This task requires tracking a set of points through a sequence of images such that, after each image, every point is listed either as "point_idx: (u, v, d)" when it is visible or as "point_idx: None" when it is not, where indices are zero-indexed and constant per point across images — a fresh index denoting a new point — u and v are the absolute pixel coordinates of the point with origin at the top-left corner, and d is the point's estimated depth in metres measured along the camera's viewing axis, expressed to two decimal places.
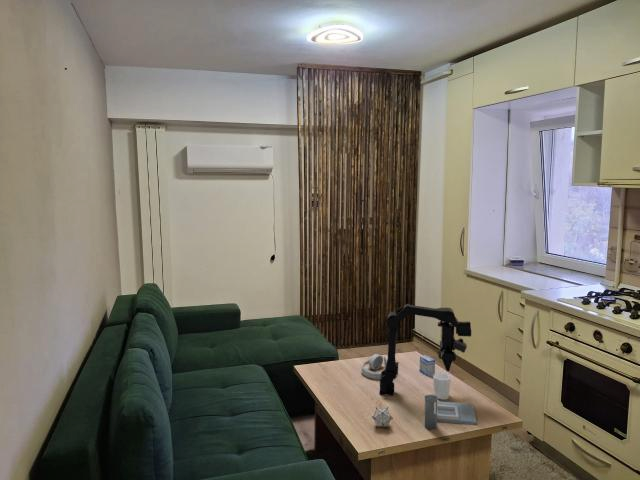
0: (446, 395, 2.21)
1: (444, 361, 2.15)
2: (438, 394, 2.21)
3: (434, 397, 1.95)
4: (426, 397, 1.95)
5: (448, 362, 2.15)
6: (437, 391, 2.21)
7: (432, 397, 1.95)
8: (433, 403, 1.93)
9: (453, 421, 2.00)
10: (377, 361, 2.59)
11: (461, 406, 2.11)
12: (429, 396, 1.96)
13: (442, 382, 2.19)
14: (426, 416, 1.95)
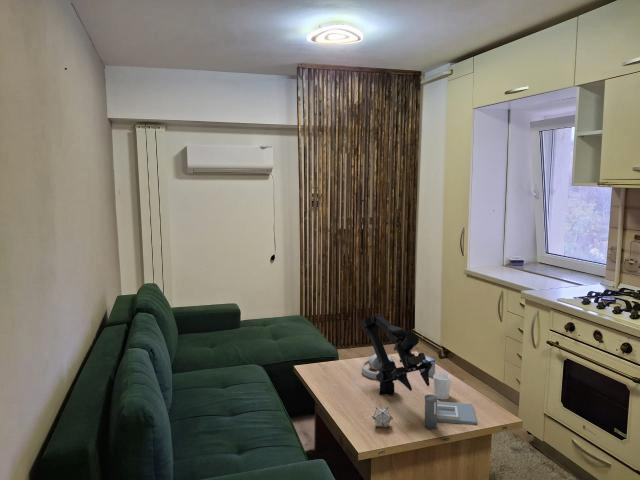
0: (446, 395, 2.21)
1: (401, 381, 2.04)
2: (438, 394, 2.21)
3: (434, 397, 1.95)
4: (426, 397, 1.95)
5: (404, 380, 2.03)
6: (437, 391, 2.21)
7: (432, 397, 1.95)
8: (433, 403, 1.93)
9: (453, 421, 2.00)
10: (377, 361, 2.59)
11: (461, 406, 2.11)
12: (429, 396, 1.96)
13: (442, 382, 2.19)
14: (426, 416, 1.95)
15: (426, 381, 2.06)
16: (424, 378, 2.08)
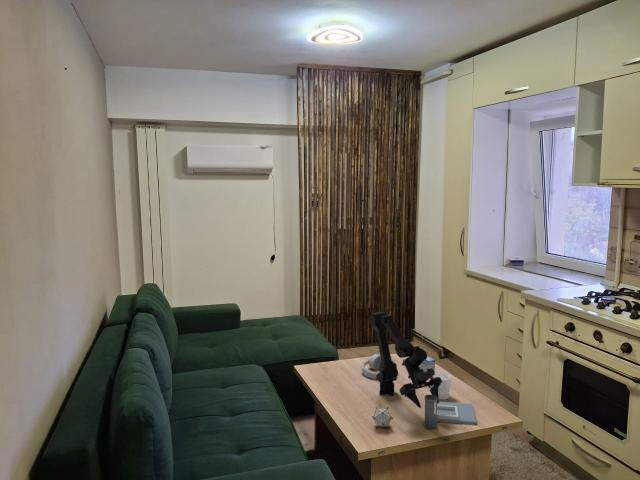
0: (446, 395, 2.21)
1: (409, 397, 1.98)
2: (438, 394, 2.21)
3: (434, 397, 1.95)
4: (426, 397, 1.95)
5: (413, 397, 1.97)
6: None
7: (432, 397, 1.95)
8: (433, 403, 1.93)
9: (453, 421, 2.00)
10: (377, 361, 2.59)
11: (461, 406, 2.11)
12: (429, 396, 1.96)
13: (442, 382, 2.19)
14: (426, 416, 1.95)
15: None
16: None
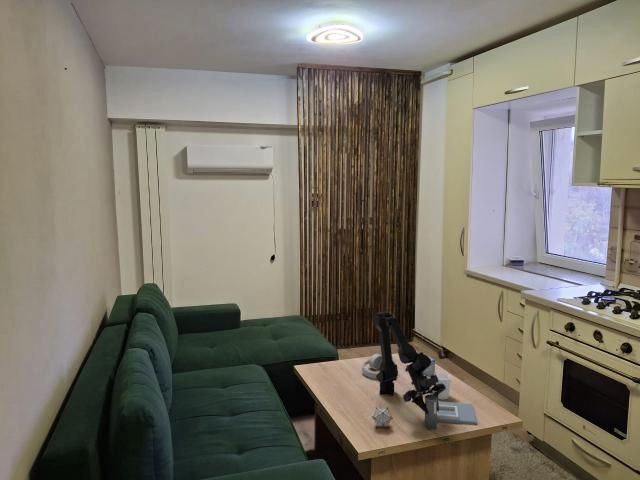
0: (446, 395, 2.21)
1: (417, 403, 1.97)
2: None
3: (434, 397, 1.95)
4: (426, 397, 1.95)
5: (420, 403, 1.96)
6: None
7: (432, 397, 1.95)
8: (433, 403, 1.93)
9: (453, 421, 2.00)
10: (377, 361, 2.59)
11: (461, 406, 2.11)
12: (429, 396, 1.96)
13: (442, 382, 2.19)
14: (426, 416, 1.95)
15: None
16: None
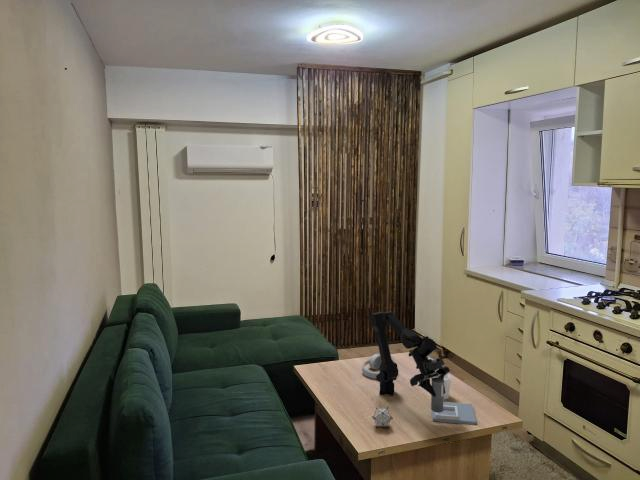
0: (446, 395, 2.21)
1: (423, 387, 1.98)
2: None
3: (441, 380, 1.97)
4: (433, 380, 1.97)
5: (427, 386, 1.97)
6: None
7: (439, 380, 1.97)
8: (440, 386, 1.95)
9: (453, 421, 2.00)
10: (377, 361, 2.59)
11: (461, 406, 2.11)
12: (435, 379, 1.98)
13: None
14: (433, 399, 1.96)
15: None
16: None
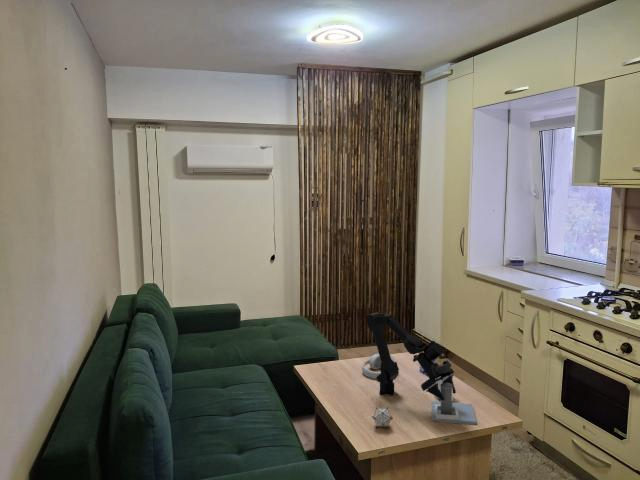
0: None
1: (431, 392, 2.02)
2: None
3: (449, 384, 2.04)
4: (443, 385, 2.03)
5: (435, 391, 2.01)
6: None
7: (448, 385, 2.04)
8: (451, 390, 2.01)
9: (453, 421, 2.00)
10: (378, 361, 2.59)
11: (461, 406, 2.11)
12: (444, 384, 2.04)
13: (442, 382, 2.19)
14: (444, 404, 2.03)
15: None
16: None
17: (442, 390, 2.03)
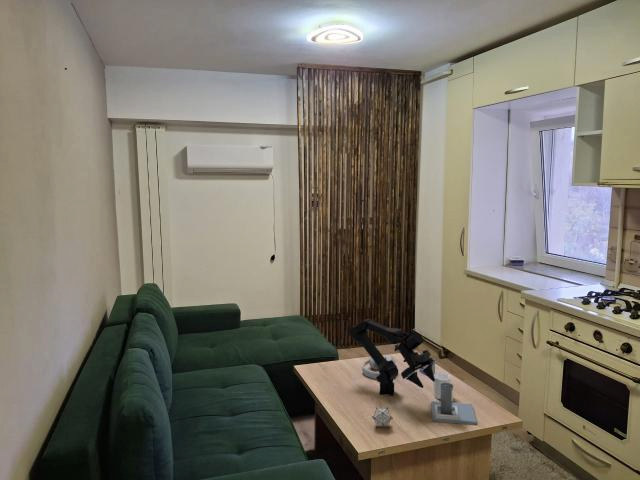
0: None
1: (411, 380, 2.09)
2: (438, 394, 2.21)
3: (449, 384, 2.04)
4: (443, 385, 2.03)
5: (415, 379, 2.08)
6: (437, 391, 2.21)
7: (448, 385, 2.04)
8: (451, 390, 2.01)
9: (453, 421, 2.00)
10: None
11: (461, 406, 2.11)
12: (444, 384, 2.04)
13: (442, 382, 2.19)
14: (444, 404, 2.02)
15: (431, 377, 2.14)
16: (428, 374, 2.15)
17: (442, 390, 2.03)
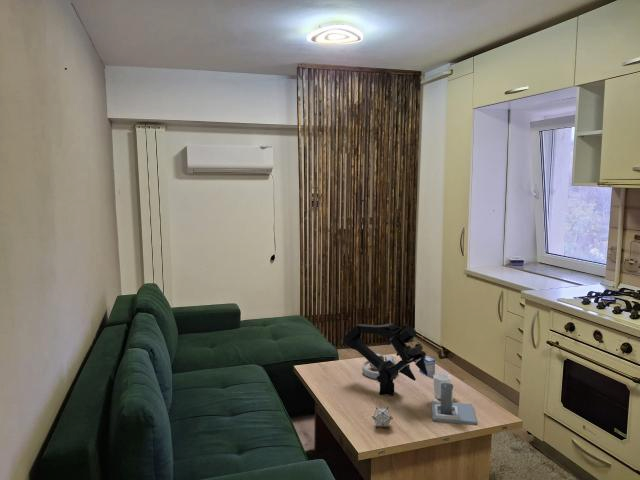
0: None
1: (403, 373, 2.12)
2: (438, 394, 2.21)
3: (449, 384, 2.04)
4: (443, 386, 2.03)
5: (407, 371, 2.11)
6: (437, 391, 2.21)
7: (448, 385, 2.03)
8: (451, 390, 2.01)
9: (453, 421, 2.00)
10: None
11: (461, 406, 2.11)
12: (444, 384, 2.04)
13: (442, 382, 2.19)
14: (444, 404, 2.02)
15: (424, 370, 2.17)
16: (421, 367, 2.19)
17: (442, 390, 2.02)
